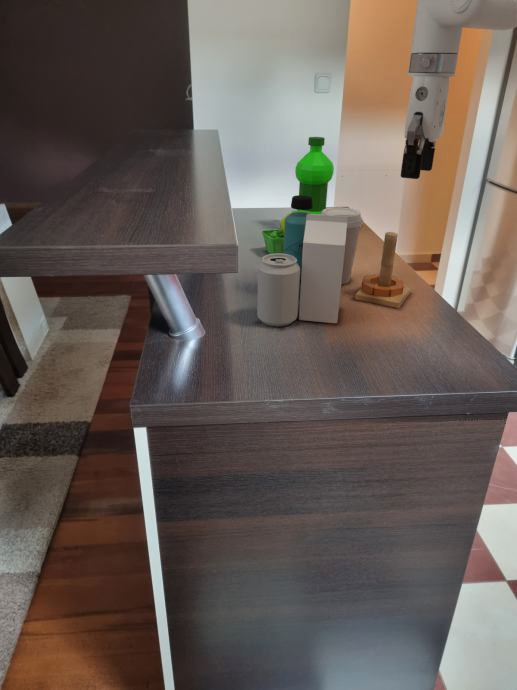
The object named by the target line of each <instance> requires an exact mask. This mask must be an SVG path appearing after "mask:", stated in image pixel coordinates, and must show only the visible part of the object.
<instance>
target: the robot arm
mask: <svg viewBox="0 0 517 690" xmlns="http://www.w3.org/2000/svg"><path fill="white" fill-rule="evenodd" d="M415 9H416V10H415V17H414V23H413V24H414V25H413V31H412V32H413V33H412V40H411V49H410V55H409V63H408V71H407V77H412V80H411V81H412V83H411V87H410V91H409V97H408V104H407V110H406V118H405V125H404V138H405V142H404V149H403V154H402V161H401V168H400V178H402V179H413V180H418V179H420V177H421V171H423V172H424V171H426V172H430V171H432V169H433V164H434V158H435V152H436V143H437V140H439V139H440V138H442V137H443V135H444V130H445V123H446V115H447V108H448V98H449V89H450V78H454V77H455V76H456V71H457V70H456V69H457V63H458V57H459V50H460V45H461V39H462V32H463V28H464V29H475V30H489V31H490V30H492V31H508V30H511V29H515V28H517V0H417V2H416V8H415Z"/></svg>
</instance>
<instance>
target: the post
mask: <svg viewBox="0 0 517 690" xmlns="http://www.w3.org/2000/svg"><path fill="white" fill-rule="evenodd" d="M398 236H399V234H398V233H397V232H393V231H387V232H385V233H384V240H383V246H382V247H383V248H382V254H381V261H380V262H381V263H380V268H379V275H380V276H379V283H378V284H374V285H376V286H382V287H390V284H391V277H392V276H393V269H394V263H395V256H396V250H397V243H398ZM410 293H411V287H407V286H404V288H403V294H401V295H398V296H394V297H390V296H389V297H381V296H374V294H373V295H370V294H368V293H366V292H364V291H363V290H362V289H361V288H360V289H359V290H358V291H357V292H356V293H355V294H354V300H357V301H362V302H366V303H371V304H375V305H380V306H384V307H385V306H386V307H389V308H395V309H400V307H401V306H402V304H404V301H405V300H406V299H407V297H408V296H409V294H410Z"/></svg>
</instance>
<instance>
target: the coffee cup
mask: <svg viewBox="0 0 517 690" xmlns="http://www.w3.org/2000/svg"><path fill="white" fill-rule="evenodd" d="M321 215H334V216H348V220H347V231H346V241H345V252H344V262H343V272H342V282H341V285H345V284H346V285H347V284H348V283H349V282H350V280H351V276H352V272H353V266H354V262H355V261H354V260H355V256H356V251H357V246H358V241H359V235H360V231H361V227H362V226H363V225H364V219H363V217H362V215H361V212H360V211H359V210H358V209H354V208H351V207H350V208H349V207H341V206H337V207H326V209H324V210H323V211H322V213H321Z"/></svg>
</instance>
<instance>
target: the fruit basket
mask: <svg viewBox="0 0 517 690" xmlns="http://www.w3.org/2000/svg"><path fill="white" fill-rule="evenodd" d="M294 212H298V211H297V210H292V211H290V212H289V213H287V214H286V215H285V216H283V218H281V221H280V223H279V225H280V228H278V229H276V228H275V229H266V230H262V231H261V235H262V237H263V241H264V245H265V249H266V250H265V251H266V252H268V254H275V253H281V254H282V253H283V252H282V251H283V249H284V230H285V218H286V217H287V216H288V215H289V214H291V213H294Z"/></svg>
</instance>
